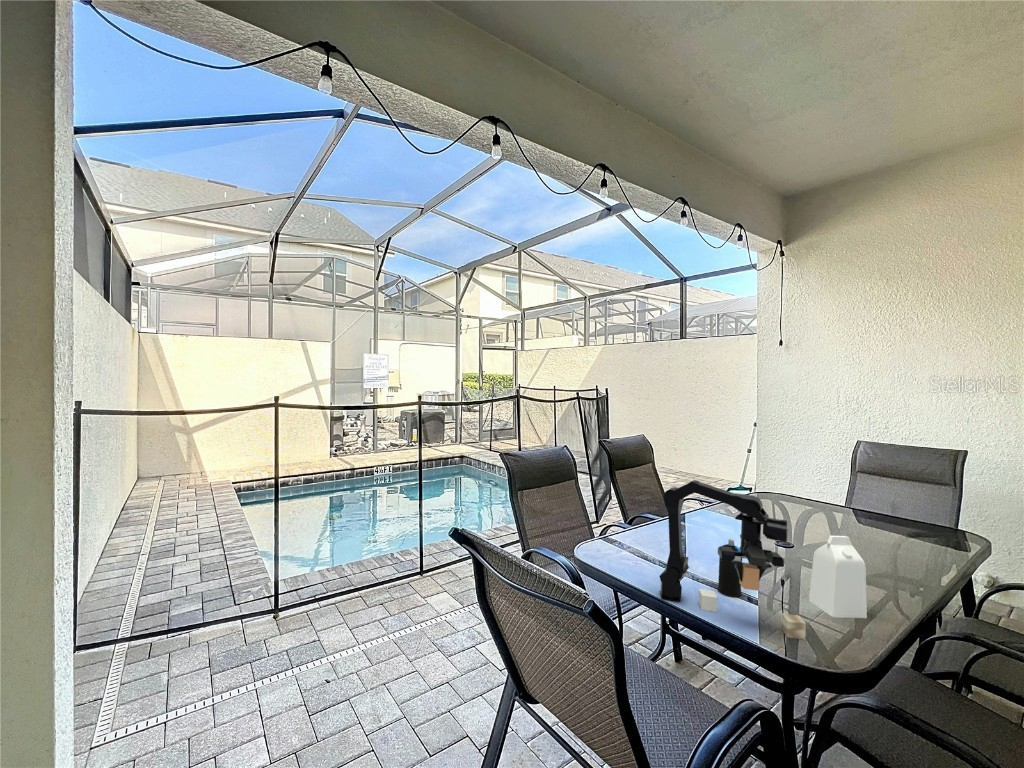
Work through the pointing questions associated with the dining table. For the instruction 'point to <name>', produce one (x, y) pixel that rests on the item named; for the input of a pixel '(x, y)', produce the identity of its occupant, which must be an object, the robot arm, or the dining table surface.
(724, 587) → the aerosol can
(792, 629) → the birch cube
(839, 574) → the milk
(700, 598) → the off-white cube
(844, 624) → the dining table surface
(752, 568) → the brown block
